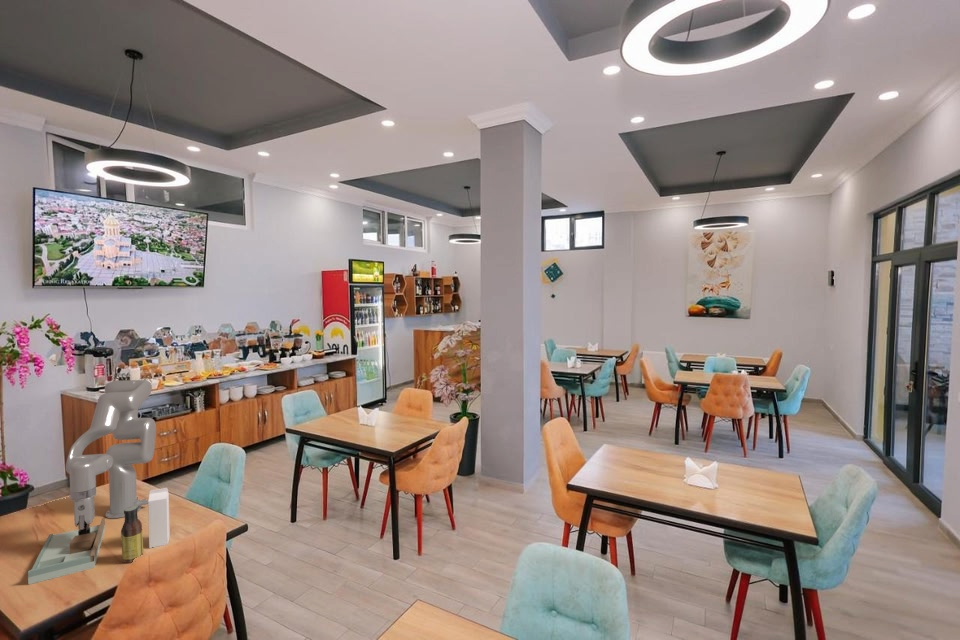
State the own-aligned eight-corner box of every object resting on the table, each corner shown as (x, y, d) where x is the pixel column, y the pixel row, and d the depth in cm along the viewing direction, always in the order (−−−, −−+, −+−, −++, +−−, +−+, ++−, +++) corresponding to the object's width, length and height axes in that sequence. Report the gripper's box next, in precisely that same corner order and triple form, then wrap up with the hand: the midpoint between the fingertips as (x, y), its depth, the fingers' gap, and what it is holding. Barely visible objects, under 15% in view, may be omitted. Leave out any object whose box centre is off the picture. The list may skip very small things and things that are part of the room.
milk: (167, 544, 175) (166, 490, 174) (148, 548, 172) (147, 493, 171) (169, 537, 180) (168, 484, 179) (151, 541, 177) (150, 487, 176)
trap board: (105, 529, 186) (105, 517, 186) (94, 567, 160) (94, 554, 159) (49, 541, 176) (49, 529, 176) (28, 584, 150) (27, 570, 150)
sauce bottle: (130, 554, 168) (128, 503, 167) (147, 554, 169) (146, 503, 168) (117, 564, 162) (116, 511, 161) (135, 564, 162) (134, 511, 161)
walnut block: (95, 542, 172) (95, 532, 171) (90, 550, 166) (90, 539, 166) (75, 546, 169) (75, 535, 169) (69, 554, 164) (69, 543, 163)
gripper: (93, 498, 167) (94, 545, 168) (98, 484, 179) (99, 528, 180) (66, 503, 163) (67, 551, 164) (73, 488, 175) (75, 533, 176)
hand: (84, 539), depth 172 cm, fingers closed
